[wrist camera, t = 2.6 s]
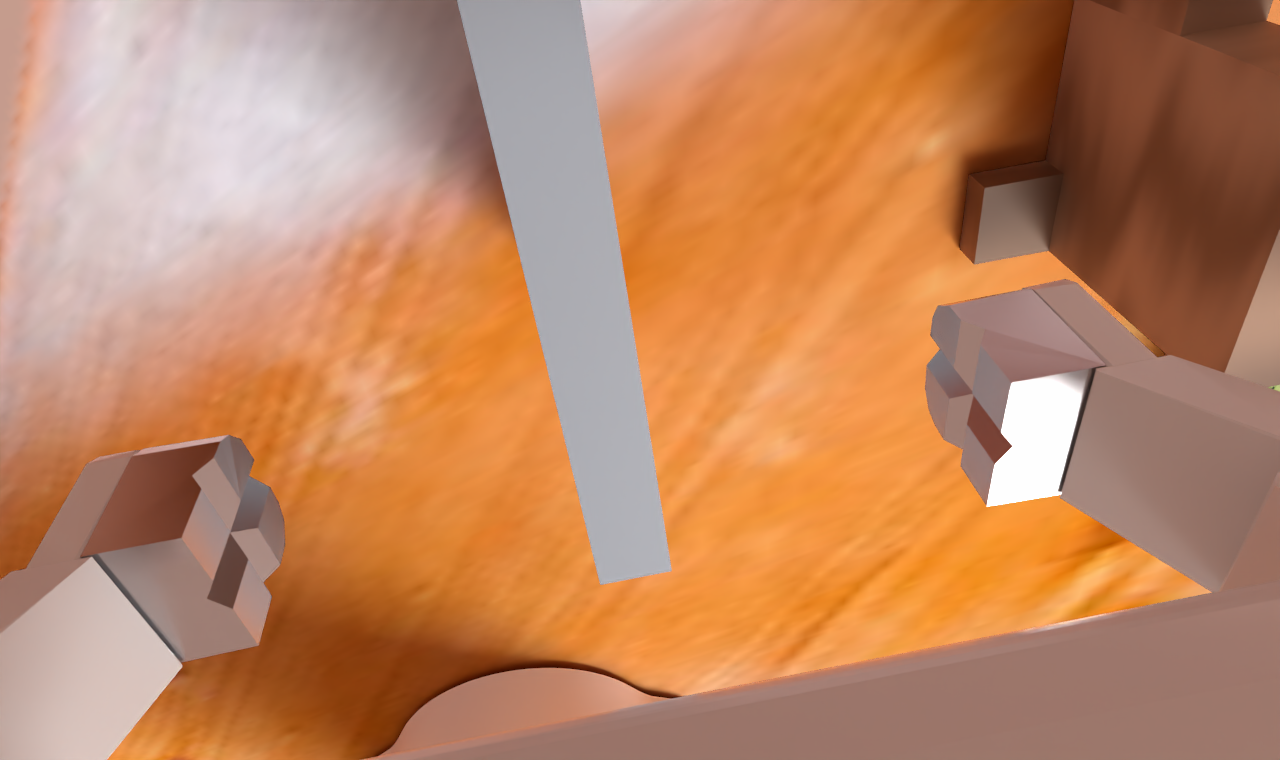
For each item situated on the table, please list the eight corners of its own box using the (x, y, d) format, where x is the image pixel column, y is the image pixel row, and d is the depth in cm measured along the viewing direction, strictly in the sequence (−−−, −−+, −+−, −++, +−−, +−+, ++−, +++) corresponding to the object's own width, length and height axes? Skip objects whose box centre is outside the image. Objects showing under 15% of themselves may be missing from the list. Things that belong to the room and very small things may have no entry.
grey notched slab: (605, 265, 29) (671, 570, 18) (561, 273, 29) (600, 584, 18) (503, -319, 20) (512, -427, 9) (436, -309, 20) (357, -405, 8)
